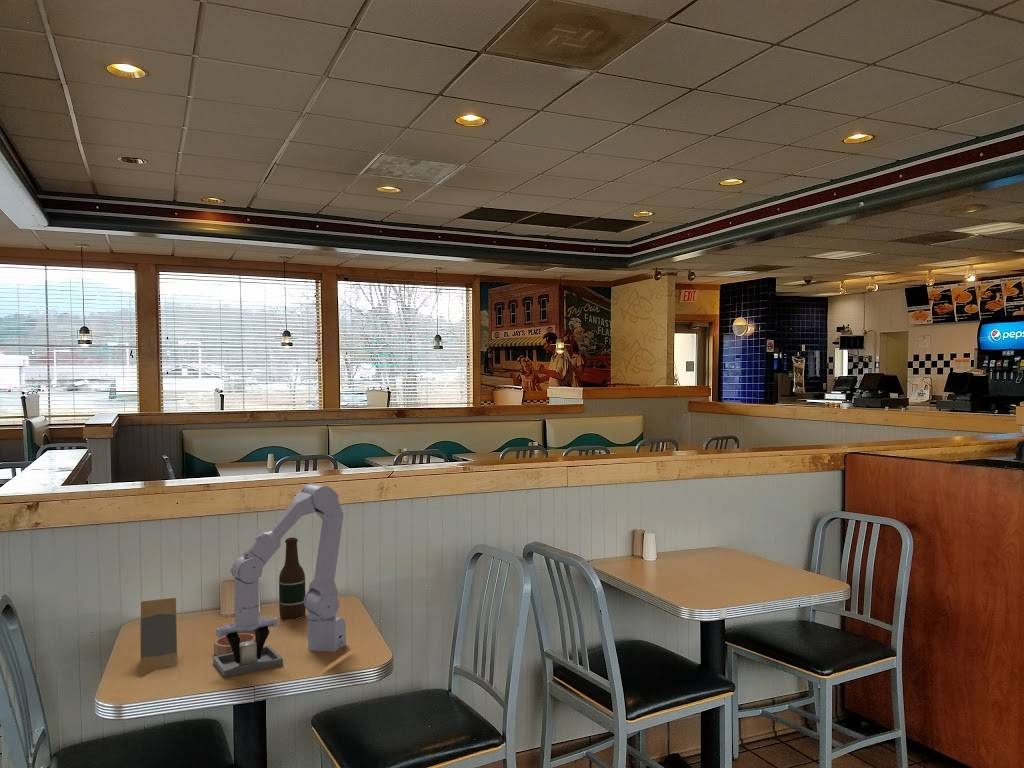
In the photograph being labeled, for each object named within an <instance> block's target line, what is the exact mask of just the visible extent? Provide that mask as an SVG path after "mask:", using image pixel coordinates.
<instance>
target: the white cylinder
mask: <svg viewBox="0 0 1024 768" xmlns="http://www.w3.org/2000/svg"><path fill="white" fill-rule="evenodd" d="M239 654H240V663H238V666H239V667H240V666H245V665H250V664H255V663H257V642H255V641H246V642H242V643H240V646H239Z"/></svg>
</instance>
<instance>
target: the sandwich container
mask: <svg viewBox="0 0 1024 768" xmlns="http://www.w3.org/2000/svg"><path fill="white" fill-rule="evenodd" d="M177 623H178V622H177V598H176V597H171V598H159V599H151V600H144V601H143V600H142V601H141V602H140V630H139V631H140V632H139V633H140V636H139V637H140V643H139V644H140V678H143V677H145V676H147V675H149V674H150V673H153V672H155V671H160V670H164V669H165V670H166V669H172V668H176V667H178V636H177V635H178V629H177V627H178V625H177ZM142 676H143V677H142Z"/></svg>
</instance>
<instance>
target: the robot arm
mask: <svg viewBox="0 0 1024 768" xmlns="http://www.w3.org/2000/svg"><path fill="white" fill-rule="evenodd" d="M314 513H316V514H317V516H318V517H320V520H321V521H322V522H321V528H320V536H319V541H318V542H319V543H318V547H317V549H318V550H317V556H316V562H315V570H314V577H313V579H312V580H311V582H310V583H309V586H308V590H307V592H306V593H305V597H304V606H305V608H306V610H307V613H308V614H307V649H308V650H310V651H312V652H332V653H335V652H337V651H339V650H340V649H341V648H343V647H344V646H346V645H347V635H346V633H347V630H346V629H347V627H346V625H347V624H346V620H345V619H344V618H343V617H339V616H337V613H338V612H339V609H340V601H339V598H338V592H339V590H338V587H337V585H336V582H335V578H336V572H337V565H338V556H339V549H340V544H341V543H340V542H341V535H342V528H343V527H342V526H343V522H344V513H343V509H342V506H341V504H340V502H339V494H338V493H337V492H336V490H334V489H333V488H332V487H330V486H327V485H320V484H317V483H312V482H311V483H308V484H306V485H305V486H303V487H302V489H301V490H300V491H299V492H297V494H295V496H294V498H293V501H292V502H291V503H290V504H289V506H288V507H287V509H286V510H285V511H284V512H283V514H281V516H280V518H278V520H277V522H276V523H275V524H274V525H273V527H272V528H271V529H270V531H264V532H262V533H260V534H257V535H256V537H255V538H254V539H255V541H254V542H253V544H252V545H251V546H250V547H249V548H248V549H247V551H244V552H242V556H241V557H238V558H237V559H235V560H234V562H233V563H232V567H231V568H230V574H231V575H232V577H233V578H234V622H233V623H229V624H226V625H224V626H223V625H222V626H219V627H216V628H215V636H216V637H217V638H220V637H222V636H226V637H227V639H228V641H229V643H230V645H231V648H232V651H233V654H234V659H235V662H236V663H237V664H238V663H240V654H239V646H240V638H239V636H238V634H237V633H247V632H250V631H254V635H255V639H256V642H257V659H261V653H262V649H263V647H264V646H265V644H266V643H265V642H266V641H267V639H268V637H269V634H270V629H269V628H271V627H273V628H276V627H278V625H279V624H278V617H276V616H273V617H266V618H264V617H263V618H260V595H259V593H260V592H259V591H260V589H259V586H260V585H259V579H260V577H262V574H263V569H264V567H265V566H266V564H267V563H268V562H269V561H270V560H271V558H273V556H274V555H275V554H276V552H278V550H279V549H280V547H281V542H282V541H281V539H282V538H283V537H284V536H285V535H286V534H287V533H288V531H289V530H290V529H291V528H292V527H293V526H294V525H295V524H296V523H297V522H298V521H299V519H301V517H303V516H305V515H306V516H307V515H310V514H314Z"/></svg>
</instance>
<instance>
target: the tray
mask: <svg viewBox="0 0 1024 768" xmlns="http://www.w3.org/2000/svg"><path fill="white" fill-rule="evenodd" d="M212 663H213V666H215V668H216V669H217V671H218V672H219V673H220V675H221V676H222V677H223V678H224V679H227V678H231V677H236V676H239V675H245V674H250V673H253V672H258V671H262V670H267V669H273V668H276V667H280V666H284V658H283V657H282V656H281V655H280V654H279V653H278V652H277V651H276V650H275V649H274V648H273V647H272V646H271V645H266V646H265V645H264V646H263V649H262V653H261V659H257V663H255V664H250V665H245V666H240V667H239V666H238V664H237V663H236V662H235V659H234V654H233V653H229V654H224V655H219V656H216V655H215V656H212Z"/></svg>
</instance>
